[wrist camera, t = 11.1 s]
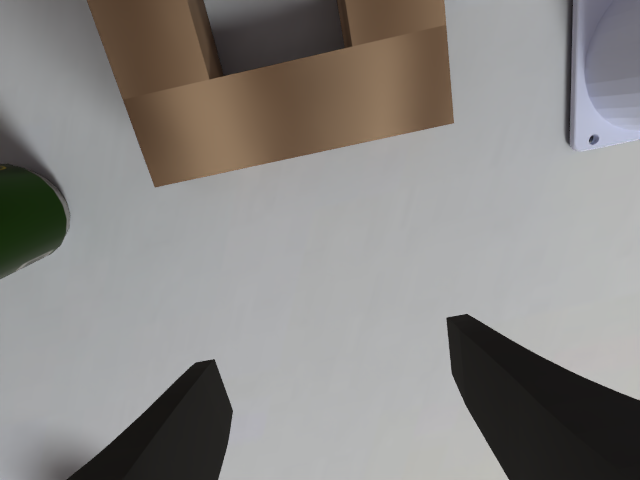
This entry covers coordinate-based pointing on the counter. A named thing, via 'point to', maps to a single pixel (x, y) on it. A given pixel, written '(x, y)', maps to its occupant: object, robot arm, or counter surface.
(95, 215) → the counter surface
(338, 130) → the bore block
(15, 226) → the green soda can
